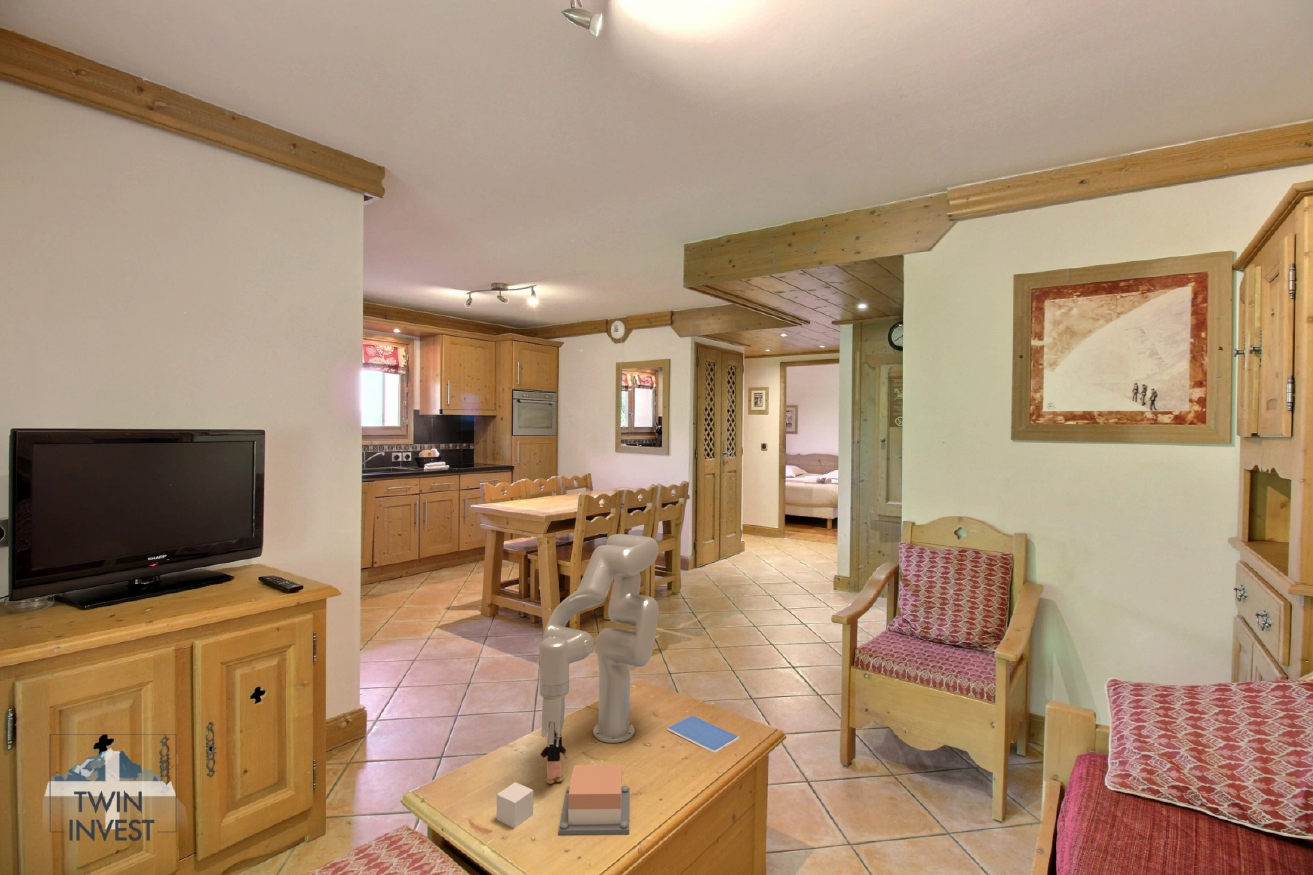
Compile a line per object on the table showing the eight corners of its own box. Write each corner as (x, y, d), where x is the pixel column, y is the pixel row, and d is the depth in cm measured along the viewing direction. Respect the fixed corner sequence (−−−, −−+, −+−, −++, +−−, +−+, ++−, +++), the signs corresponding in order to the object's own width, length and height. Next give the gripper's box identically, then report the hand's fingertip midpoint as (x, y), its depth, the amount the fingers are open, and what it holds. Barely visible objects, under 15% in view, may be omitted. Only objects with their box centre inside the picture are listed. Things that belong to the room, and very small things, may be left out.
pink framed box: (566, 792, 150) (566, 760, 150) (629, 791, 151) (630, 760, 151) (558, 834, 134) (558, 799, 134) (629, 833, 135) (629, 798, 135)
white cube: (496, 819, 139) (496, 794, 139) (515, 806, 144) (515, 781, 144) (514, 828, 136) (515, 802, 136) (533, 815, 141) (533, 789, 141)
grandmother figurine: (563, 772, 158) (563, 724, 159) (569, 779, 155) (569, 729, 155) (535, 781, 154) (536, 731, 154) (541, 788, 151) (542, 737, 151)
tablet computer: (740, 740, 178) (740, 735, 178) (714, 756, 169) (714, 751, 169) (692, 718, 192) (692, 714, 192) (665, 731, 183) (665, 727, 183)
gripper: (544, 673, 162) (544, 739, 163) (534, 701, 146) (534, 775, 146) (572, 673, 162) (572, 739, 163) (565, 701, 146) (565, 774, 147)
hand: (554, 755), depth 155 cm, fingers closed on grandmother figurine, 3 cm apart
